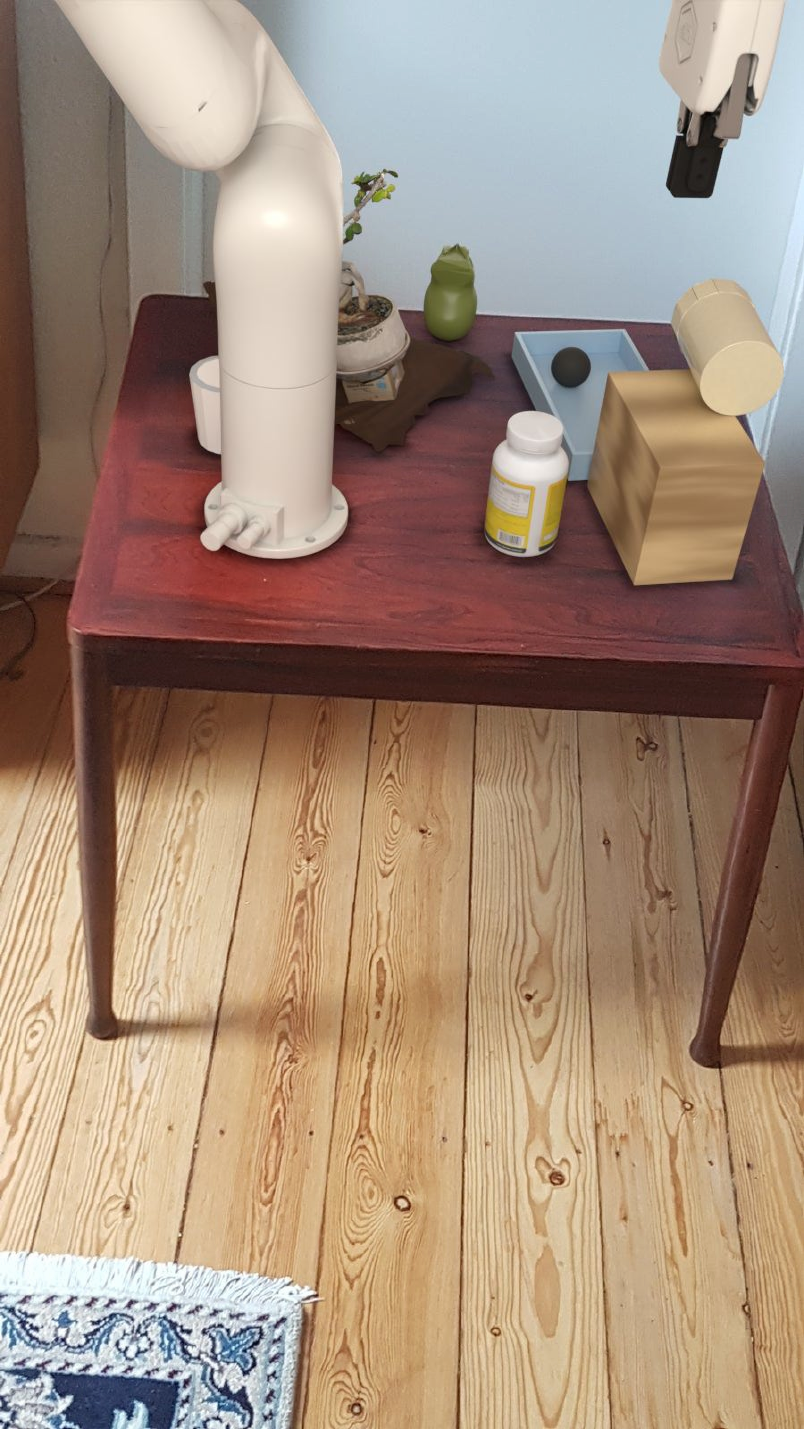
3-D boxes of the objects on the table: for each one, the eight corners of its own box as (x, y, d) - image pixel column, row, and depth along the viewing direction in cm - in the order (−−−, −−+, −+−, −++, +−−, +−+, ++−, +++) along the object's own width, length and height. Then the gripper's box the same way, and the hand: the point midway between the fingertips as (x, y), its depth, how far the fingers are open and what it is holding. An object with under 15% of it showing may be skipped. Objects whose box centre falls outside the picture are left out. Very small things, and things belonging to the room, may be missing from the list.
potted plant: (392, 484, 136) (318, 238, 119) (248, 453, 146) (162, 224, 130) (504, 372, 146) (450, 131, 129) (361, 351, 156) (295, 125, 140)
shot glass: (231, 467, 132) (229, 400, 127) (176, 439, 135) (173, 373, 130) (279, 437, 136) (280, 372, 131) (226, 411, 139) (224, 345, 134)
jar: (801, 370, 119) (766, 307, 127) (744, 325, 116) (712, 263, 124) (739, 430, 122) (709, 365, 130) (682, 388, 119) (655, 324, 127)
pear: (475, 329, 154) (486, 240, 147) (469, 352, 150) (479, 263, 144) (424, 321, 155) (432, 233, 148) (417, 345, 151) (424, 255, 144)
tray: (689, 475, 136) (696, 449, 134) (568, 481, 134) (572, 454, 132) (620, 353, 152) (625, 328, 150) (511, 357, 150) (514, 331, 148)
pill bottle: (556, 521, 129) (575, 409, 121) (555, 564, 124) (575, 450, 116) (484, 513, 129) (499, 400, 121) (480, 556, 125) (495, 441, 117)
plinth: (732, 579, 125) (765, 462, 116) (633, 585, 123) (660, 467, 115) (678, 482, 135) (705, 368, 127) (586, 486, 134) (607, 371, 125)
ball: (564, 347, 147) (582, 382, 148) (537, 363, 145) (555, 398, 146) (586, 335, 144) (605, 370, 144) (558, 351, 142) (577, 387, 143)
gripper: (662, -112, 99) (613, 152, 112) (732, -45, 89) (669, 237, 101) (764, -106, 101) (704, 154, 113) (845, -40, 90) (769, 238, 103)
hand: (688, 193), depth 107 cm, fingers closed
